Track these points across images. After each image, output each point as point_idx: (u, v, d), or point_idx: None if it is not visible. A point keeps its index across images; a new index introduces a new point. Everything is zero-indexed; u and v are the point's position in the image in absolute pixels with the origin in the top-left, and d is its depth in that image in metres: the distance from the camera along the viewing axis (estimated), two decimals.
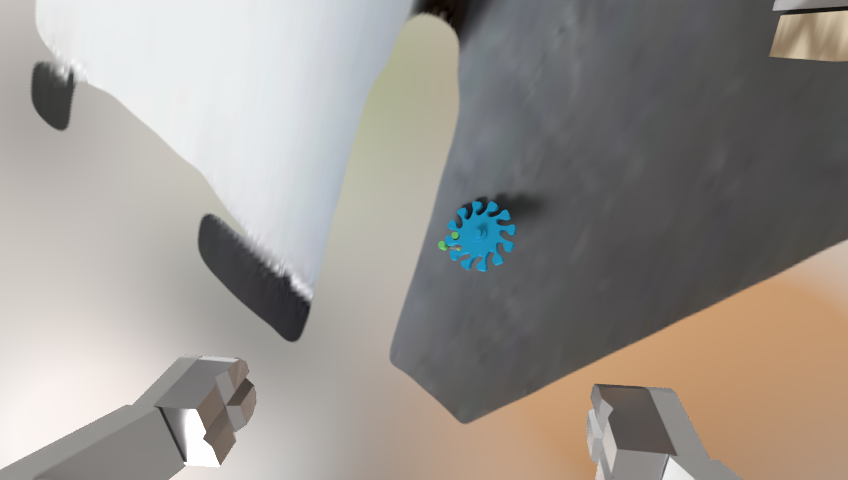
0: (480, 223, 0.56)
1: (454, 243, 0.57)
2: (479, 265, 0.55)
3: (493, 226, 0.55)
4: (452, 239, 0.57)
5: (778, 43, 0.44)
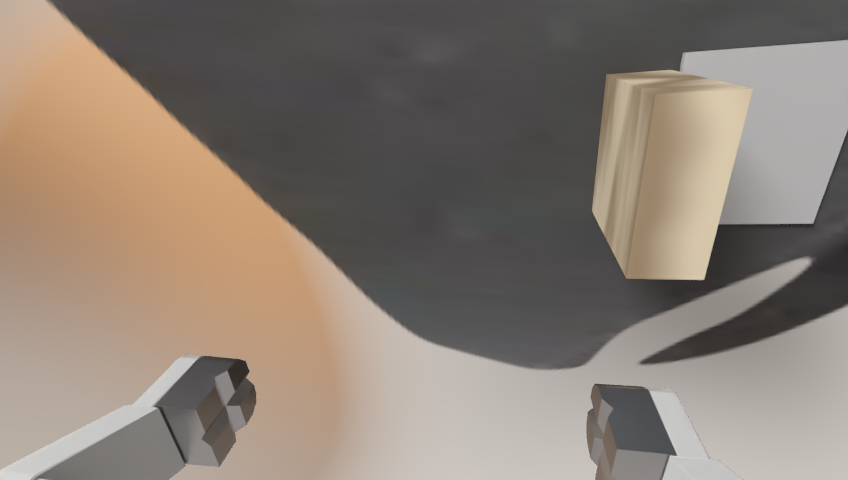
0: None
1: None
2: None
3: None
4: None
5: (631, 74, 0.27)
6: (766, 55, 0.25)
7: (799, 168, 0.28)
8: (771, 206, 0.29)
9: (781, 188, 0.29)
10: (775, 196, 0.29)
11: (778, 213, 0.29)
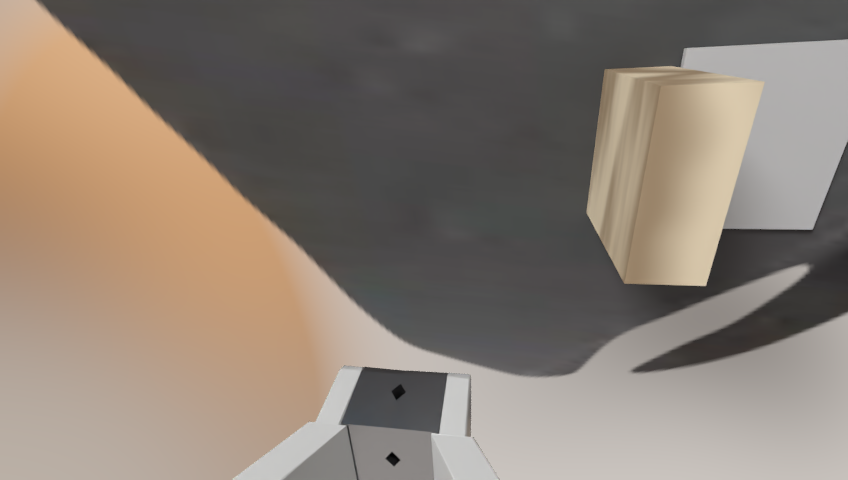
0: None
1: None
2: None
3: None
4: None
5: (630, 69, 0.25)
6: (770, 53, 0.24)
7: (800, 172, 0.27)
8: (770, 211, 0.28)
9: (781, 192, 0.28)
10: (775, 201, 0.28)
11: (777, 218, 0.29)
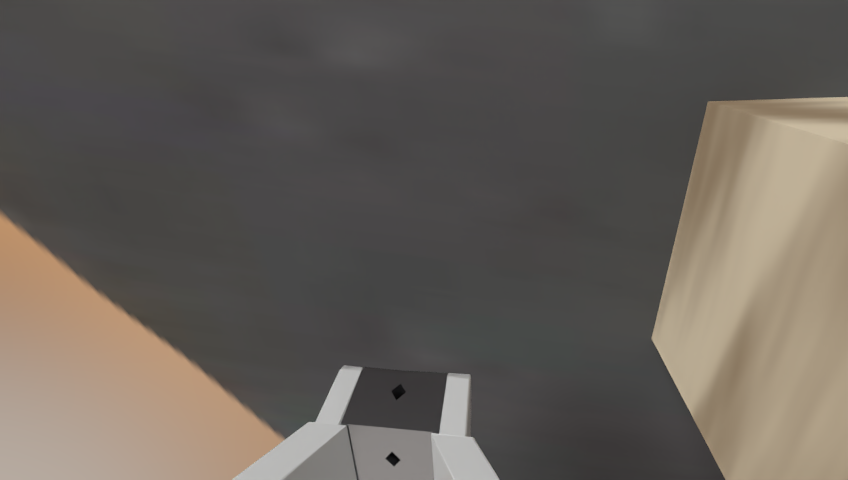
0: None
1: None
2: None
3: None
4: None
5: (769, 104, 0.13)
6: None
7: None
8: None
9: None
10: None
11: None
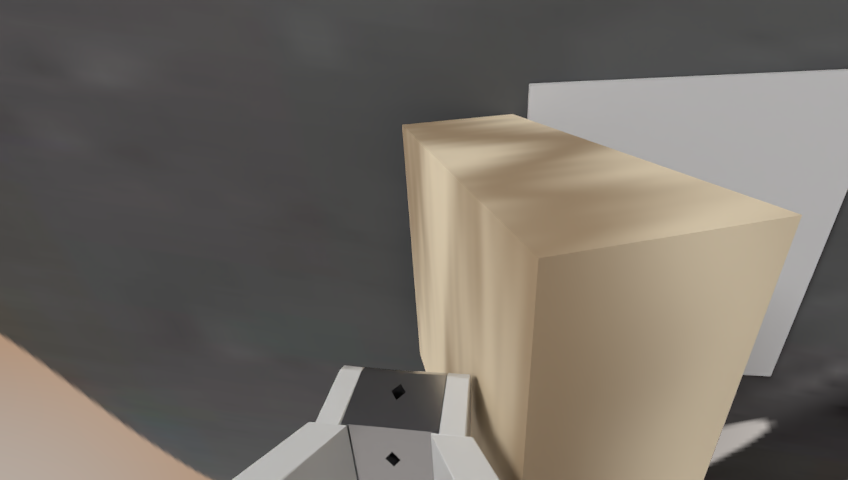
0: None
1: None
2: None
3: None
4: None
5: (447, 126, 0.13)
6: (678, 94, 0.13)
7: None
8: None
9: None
10: None
11: None
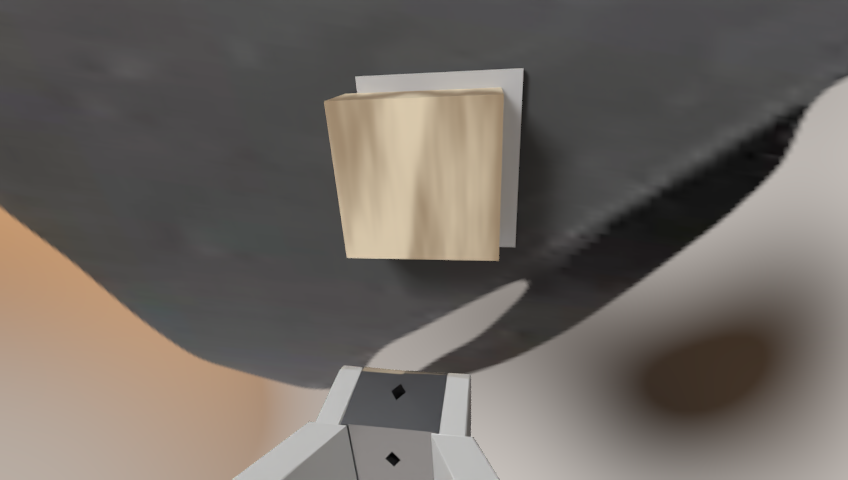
0: None
1: None
2: None
3: None
4: None
5: (348, 97, 0.24)
6: (427, 81, 0.26)
7: None
8: None
9: None
10: None
11: None
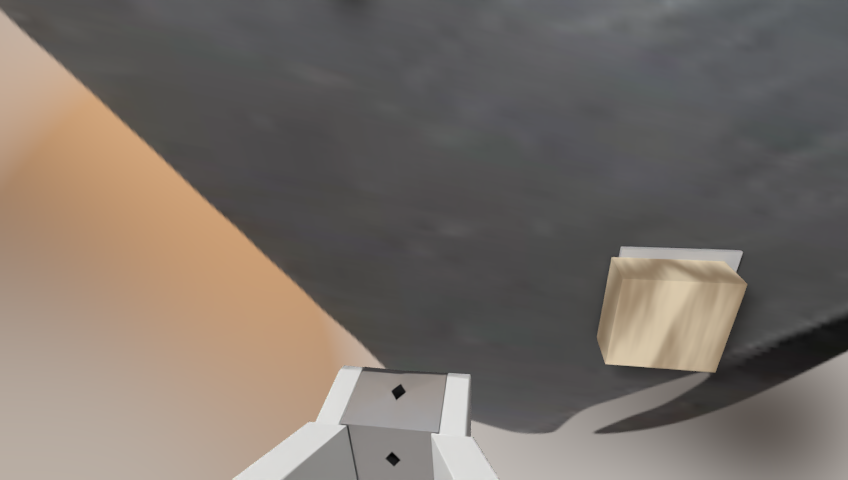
0: None
1: None
2: None
3: None
4: None
5: (630, 271, 0.38)
6: (673, 254, 0.39)
7: None
8: None
9: None
10: None
11: None
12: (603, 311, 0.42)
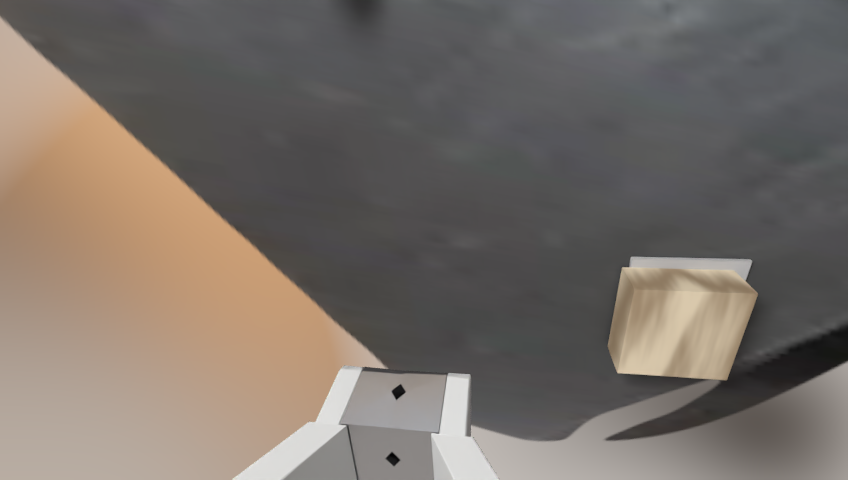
0: None
1: None
2: None
3: None
4: None
5: (641, 282, 0.38)
6: (683, 264, 0.39)
7: None
8: None
9: None
10: None
11: None
12: (614, 320, 0.43)
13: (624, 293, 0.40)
